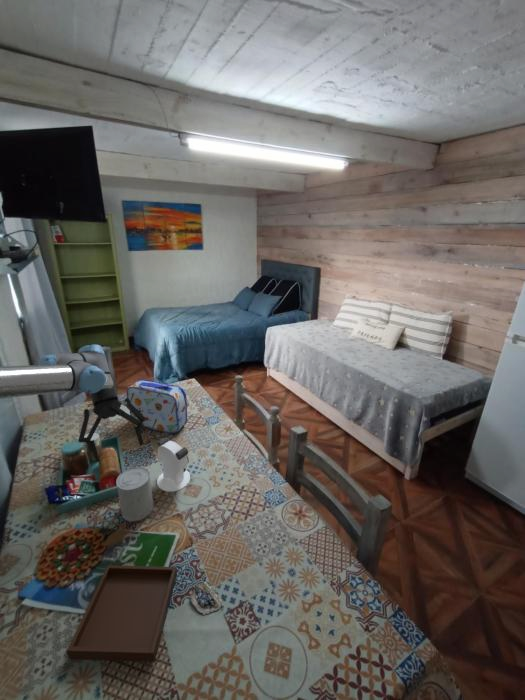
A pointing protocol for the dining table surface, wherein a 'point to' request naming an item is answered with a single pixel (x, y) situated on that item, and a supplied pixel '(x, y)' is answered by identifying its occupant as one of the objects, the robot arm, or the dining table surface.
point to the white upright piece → (172, 466)
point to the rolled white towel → (135, 493)
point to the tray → (125, 615)
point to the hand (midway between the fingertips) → (120, 453)
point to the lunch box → (159, 405)
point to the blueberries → (205, 598)
